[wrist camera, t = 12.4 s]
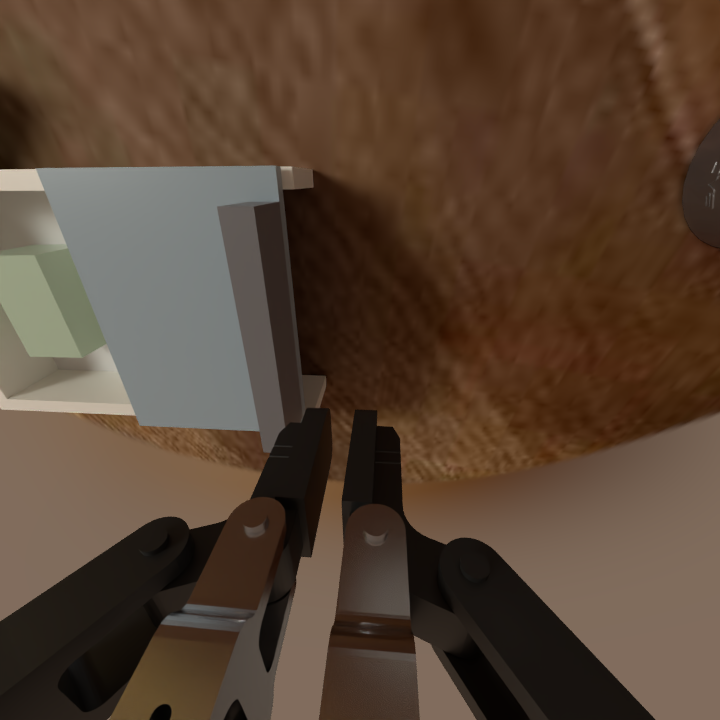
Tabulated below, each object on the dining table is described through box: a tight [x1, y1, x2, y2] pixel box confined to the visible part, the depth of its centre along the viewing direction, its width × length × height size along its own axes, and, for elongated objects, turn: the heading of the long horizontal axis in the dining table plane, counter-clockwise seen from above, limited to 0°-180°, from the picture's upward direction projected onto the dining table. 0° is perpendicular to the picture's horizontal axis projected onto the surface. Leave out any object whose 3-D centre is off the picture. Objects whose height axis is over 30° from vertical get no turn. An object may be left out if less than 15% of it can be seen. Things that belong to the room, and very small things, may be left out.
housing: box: [0, 167, 326, 415], centre depth 23 cm, size 24×16×5 cm, turn 90°
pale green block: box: [0, 244, 107, 358], centre depth 24 cm, size 4×7×4 cm, turn 1°
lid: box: [36, 166, 306, 453], centre depth 19 cm, size 12×16×4 cm
